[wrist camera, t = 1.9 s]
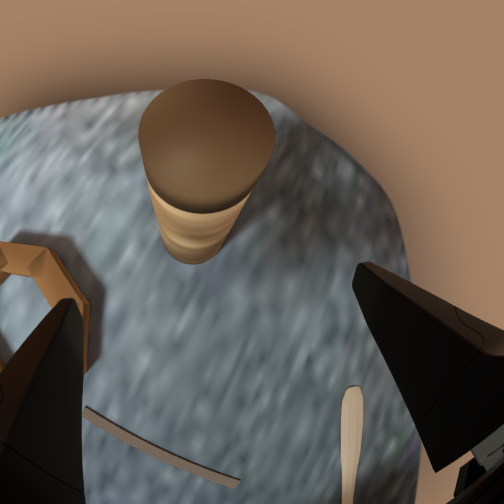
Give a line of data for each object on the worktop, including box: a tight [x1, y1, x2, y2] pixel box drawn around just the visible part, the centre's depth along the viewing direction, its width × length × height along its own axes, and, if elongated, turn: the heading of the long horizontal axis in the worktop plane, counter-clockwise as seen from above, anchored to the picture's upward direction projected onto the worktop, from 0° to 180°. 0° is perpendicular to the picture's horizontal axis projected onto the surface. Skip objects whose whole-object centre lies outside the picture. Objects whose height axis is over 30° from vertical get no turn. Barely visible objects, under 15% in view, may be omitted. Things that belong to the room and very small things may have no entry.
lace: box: [82, 406, 240, 489], centre depth 17 cm, size 12×1×1 cm, turn 62°
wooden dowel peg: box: [138, 79, 275, 264], centre depth 15 cm, size 4×4×12 cm
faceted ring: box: [0, 241, 90, 374], centre depth 16 cm, size 11×11×2 cm
